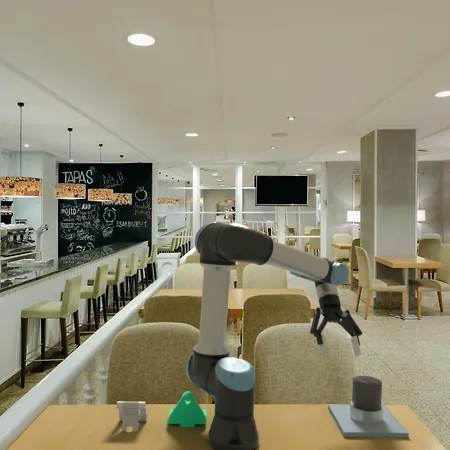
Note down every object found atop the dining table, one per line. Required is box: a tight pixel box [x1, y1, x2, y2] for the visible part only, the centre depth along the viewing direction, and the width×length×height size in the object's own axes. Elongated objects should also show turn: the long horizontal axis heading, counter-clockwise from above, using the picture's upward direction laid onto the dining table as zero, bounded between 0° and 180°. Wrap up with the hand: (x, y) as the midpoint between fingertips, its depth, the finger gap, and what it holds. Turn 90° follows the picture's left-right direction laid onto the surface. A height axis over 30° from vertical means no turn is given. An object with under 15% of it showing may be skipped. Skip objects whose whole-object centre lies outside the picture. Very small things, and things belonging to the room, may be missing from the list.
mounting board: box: [327, 403, 410, 439], centre depth 151 cm, size 20×20×2 cm
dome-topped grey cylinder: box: [351, 375, 383, 411], centre depth 151 cm, size 9×9×12 cm
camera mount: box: [167, 390, 208, 428], centre depth 149 cm, size 12×8×10 cm, turn 91°
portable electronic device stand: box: [116, 400, 148, 432], centre depth 145 cm, size 9×8×8 cm
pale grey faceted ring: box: [349, 400, 383, 425], centre depth 151 cm, size 10×10×4 cm
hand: (341, 354), depth 157 cm, fingers open, 13 cm apart
